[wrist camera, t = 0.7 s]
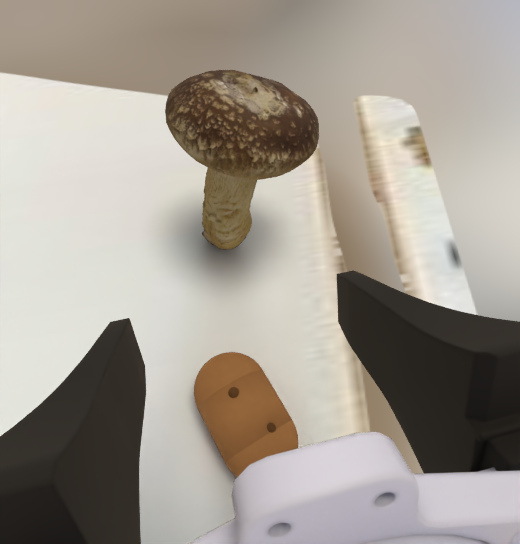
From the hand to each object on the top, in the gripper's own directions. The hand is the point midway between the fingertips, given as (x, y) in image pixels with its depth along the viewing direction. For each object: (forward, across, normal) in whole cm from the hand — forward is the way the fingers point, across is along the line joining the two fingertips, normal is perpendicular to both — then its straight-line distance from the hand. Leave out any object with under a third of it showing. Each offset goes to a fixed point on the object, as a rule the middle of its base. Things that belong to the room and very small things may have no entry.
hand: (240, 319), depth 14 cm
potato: (+9, +1, +14) cm, 17 cm away
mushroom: (+21, -1, +6) cm, 22 cm away
